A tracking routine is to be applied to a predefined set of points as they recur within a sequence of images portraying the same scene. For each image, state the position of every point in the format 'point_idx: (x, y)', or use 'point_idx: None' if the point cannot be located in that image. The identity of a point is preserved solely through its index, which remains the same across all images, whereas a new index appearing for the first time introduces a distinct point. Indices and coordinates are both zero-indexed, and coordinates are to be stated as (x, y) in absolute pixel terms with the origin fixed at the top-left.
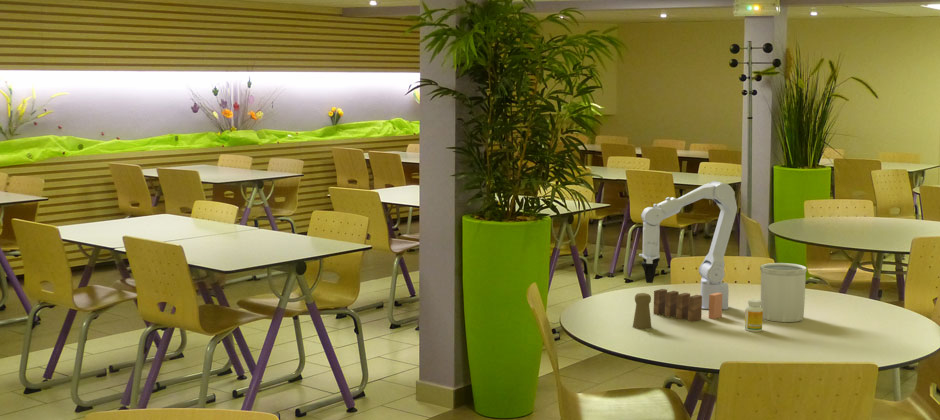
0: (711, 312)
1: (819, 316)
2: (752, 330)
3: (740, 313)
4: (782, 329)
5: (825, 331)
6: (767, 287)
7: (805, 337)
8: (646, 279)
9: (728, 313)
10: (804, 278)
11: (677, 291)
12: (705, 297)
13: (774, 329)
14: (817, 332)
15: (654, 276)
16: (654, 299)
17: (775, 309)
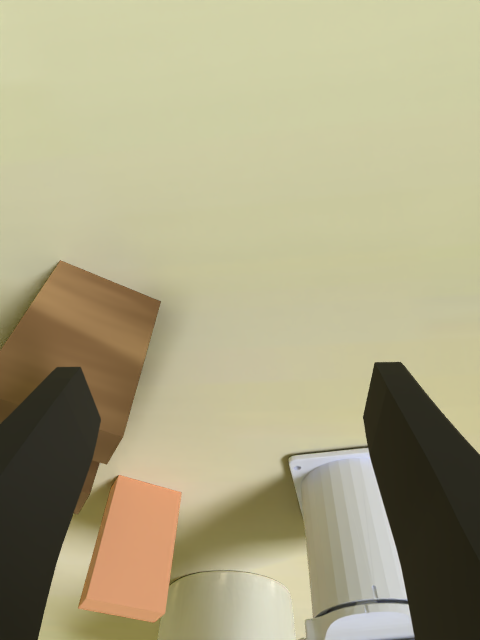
0: (107, 508)
1: None
2: None
3: (254, 539)
4: (75, 591)
5: (110, 629)
6: None
7: None
8: (28, 404)
9: (240, 518)
10: None
11: (76, 509)
12: (314, 522)
13: (62, 582)
14: (89, 622)
15: (372, 449)
16: (11, 336)
17: (159, 633)
